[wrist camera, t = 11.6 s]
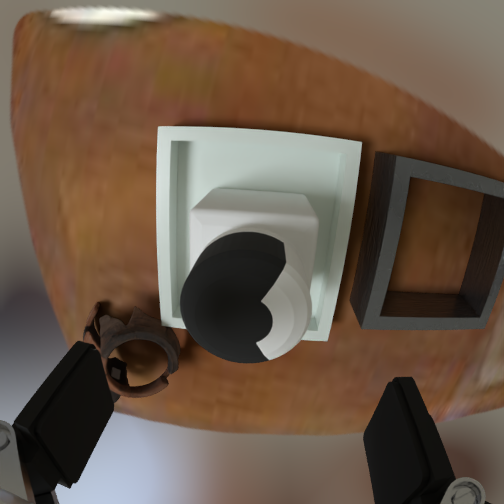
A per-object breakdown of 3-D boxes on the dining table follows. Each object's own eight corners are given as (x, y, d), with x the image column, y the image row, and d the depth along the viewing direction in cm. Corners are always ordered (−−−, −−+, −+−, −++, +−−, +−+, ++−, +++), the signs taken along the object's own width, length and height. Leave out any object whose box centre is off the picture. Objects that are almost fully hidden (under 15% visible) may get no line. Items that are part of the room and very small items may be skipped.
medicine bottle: (209, 274, 26) (170, 372, 15) (211, 187, 24) (158, 236, 12) (296, 280, 26) (312, 384, 15) (306, 193, 23) (339, 249, 12)
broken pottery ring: (95, 271, 28) (99, 311, 21) (179, 297, 33) (206, 337, 27) (70, 367, 29) (72, 419, 23) (145, 382, 35) (163, 431, 28)
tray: (351, 141, 22) (362, 142, 20) (322, 323, 28) (327, 341, 26) (170, 127, 23) (158, 126, 20) (170, 309, 29) (161, 325, 26)
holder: (495, 179, 22) (525, 189, 18) (463, 305, 27) (484, 328, 23) (375, 151, 23) (396, 155, 18) (349, 300, 27) (361, 328, 23)
